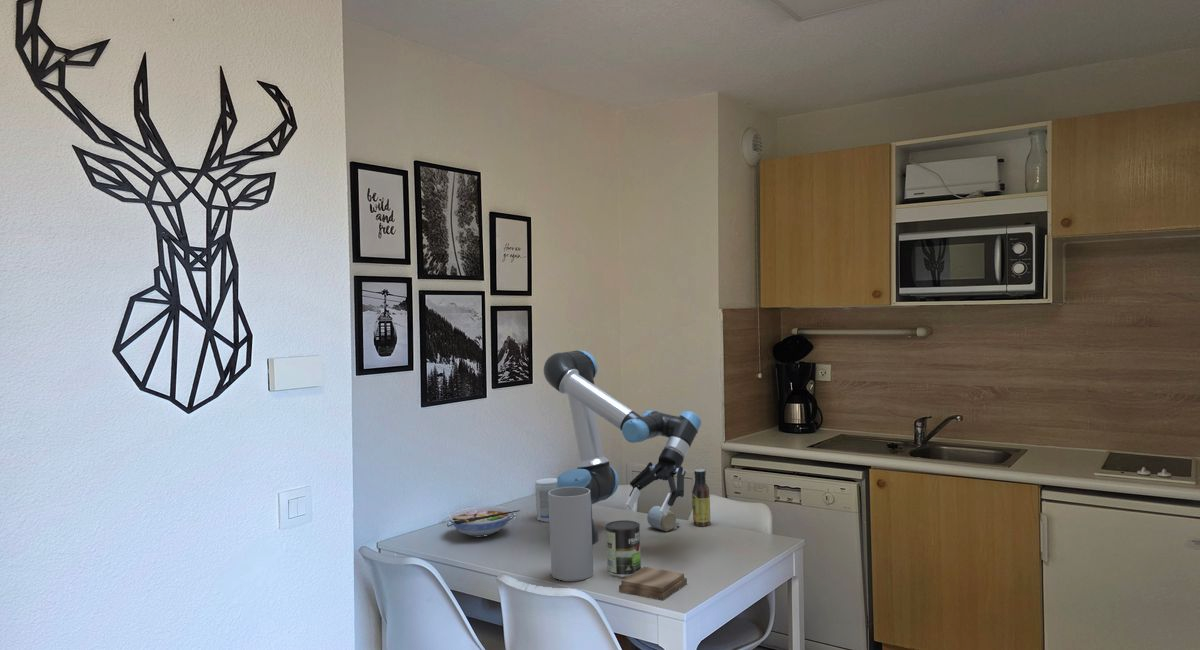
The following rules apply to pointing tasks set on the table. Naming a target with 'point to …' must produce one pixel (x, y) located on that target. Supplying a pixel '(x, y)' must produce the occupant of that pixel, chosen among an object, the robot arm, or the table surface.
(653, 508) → the ceramic mug
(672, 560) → the table surface
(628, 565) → the coffee can
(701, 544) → the table surface
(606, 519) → the table surface
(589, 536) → the cylinder vase
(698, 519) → the sauce bottle
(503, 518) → the ramen bowl
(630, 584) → the walnut plinth
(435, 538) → the table surface
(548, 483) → the supplement tub
